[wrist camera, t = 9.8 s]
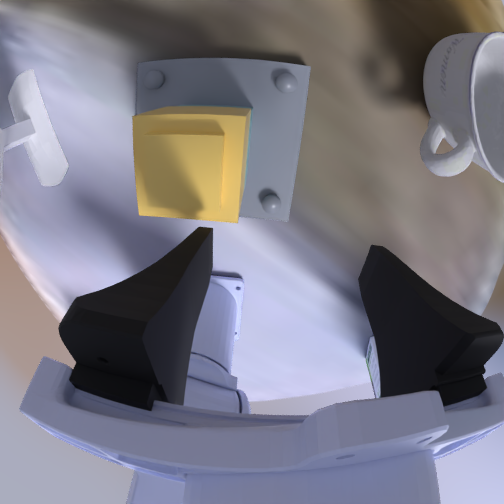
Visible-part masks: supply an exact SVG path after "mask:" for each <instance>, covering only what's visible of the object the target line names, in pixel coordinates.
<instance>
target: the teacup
mask: <svg viewBox="0 0 504 504" xmlns="http://www.w3.org/2000/svg"><path fill="white" fill-rule="evenodd" d="M423 88H424V95H425V101H426V105H427V108H428V111H429V114H430V116H431V118H430V120H429V122H428V129H427V131H426V133H425V134H424V136H423V138H422V141H421V145H420V155H421V157H422V160H423V162H424V163H425V165H426V167H427V168H428V169H429V170H430V171H431V172H432V173H434V174H436V175H439V176H453V175H456V174H458V173H460V172H462V171H464V170H465V169H466V168H467V167H468V166H469V164H470V163H471V161H473V162H475V163H476V164H478V165H479V166H481V167H483V168H484V169H486V170H487V171H489V172H490V173H491V174H492V175H493V176H494V177H495V178H496V179H497V180H499V181H501V182H503V183H504V32H491V33H461V34H455V35H451V36H448V37H446V38H443V39H442V40H440V41H439V42H438V43H437V44H436V45H435V46H434V47H433V48H432V50H431V51H430V53H429V55H428V57H427V60H426V63H425V68H424V75H423ZM443 138H444V139H445V140H446V141H447V142H448V143H449V144H450V145H451V146H452V147H453V148H454V149H453V150H452V151H450V152H447V153H445V154H435V153H436V150H437V147H438V145H439V143H440V142H441V140H442V139H443Z"/></svg>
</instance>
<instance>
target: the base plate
mask: <svg viewBox="0 0 504 504" xmlns="http://www.w3.org/2000/svg"><path fill="white" fill-rule="evenodd" d="M310 69H311V67H310V66H304V65H298V64H291V63H283V62H275V61H266V60H254V59H238V58H185V59H169V60H157V61H148V62H140V63H138V69H137V98H136V115H138V114H141V113H144V112H148V111H152V110H155V109H159V108H163V107H167V106H215V107H236V108H250V109H251V116H250V127H249V138H248V149H247V161H246V173H245V185H244V192H243V197H242V202H241V208H240V213H239V217H248V218H258V219H268V220H278V221H287V222H288V219H289V213H290V207H291V201H292V195H293V189H294V183H295V177H296V170H297V164H298V157H299V151H300V144H301V137H302V130H303V123H304V116H305V108H306V101H307V93H308V85H309V77H310Z"/></svg>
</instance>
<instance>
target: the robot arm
mask: <svg viewBox="0 0 504 504" xmlns="http://www.w3.org/2000/svg"><path fill="white" fill-rule="evenodd" d="M212 267H213V228H207V227H198V228H197V229H196V230H195V231H194V232H192V233H191V234H190V235H189V236H188V237H187V238H186V239H185V240H184V241H182V242H181V243H180V244H179V245H178V246H177V247H175V248H174V249H173V250H172V251H170V252H169V253H168V254H167V255H165V256H164V257H163V258H161V259H160V260H159V261H157V262H156V263H154V264H153V265H151V266H149V267H148V268H146V269H144V270H143V271H141V272H139V273H137V274H135V275H133V276H131V277H129V278H128V279H126V280H124V281H121V282H119V283H117V284H115V285H112V286H110V287H107V288H105V289H102V290H99V291H96V292H93V293H89V294H86V295H83V296H79V297H76V299H75V300H74V302H73V303H72V305H71V306H70V308H69V310H68V311H67V313H66V314H65V316H64V318H63V319H62V321H61V323H60V325H59V334H60V337H61V339H62V341H63V343H64V344H65V346H66V348H67V349H68V350H69V352H70V354H71V355H72V357H73V358H74V360H75V361H76V365H75V367H74V369H72V368H70V367H69V366H67V365H66V364H64V363H61V362H58V361H56V360H53V359H51V358H48V357H45V356H44V357H43V358H42V360H41V362H40V364H39V366H38V368H37V370H36V372H35V374H34V376H33V378H32V381H31V383H30V385H29V387H28V389H27V391H26V394H25V396H24V398H23V401H22V403H21V406H20V408H19V409H20V411H21V412H22V413H23V414H24V415H25V416H27V417H28V418H29V419H31V420H32V421H34V422H35V423H36V424H37V425H39V426H40V427H41V428H43V429H44V430H46V431H47V432H48V433H50V434H51V435H53V436H55V437H56V438H59V439H60V440H62V441H64V442H66V443H69V444H71V445H73V446H75V447H77V448H79V449H81V450H84V451H86V452H88V453H91V454H93V455H95V456H98V457H100V458H103V459H105V460H108V461H110V462H113V463H116V464H119V465H122V466H124V467H127V468H130V469H133V470H134V475H133V479H132V482H131V486H130V490H129V494H128V499H127V502H126V504H440V495H439V487H438V480H437V473H436V467H435V462H434V461H435V460H437V459H439V458H442V457H444V456H447V455H449V454H451V453H453V452H456V451H458V450H460V449H462V448H464V447H466V446H468V445H470V444H472V443H474V442H476V441H478V440H480V439H482V438H484V437H485V436H487V435H488V434H490V433H491V432H493V431H494V430H496V429H497V428H499V427H500V426H502V425H503V424H504V377H503V375H502V373H498V374H495V375H492V376H490V377H488V378H486V379H485V380H484V378H483V375H482V374H484V373H485V368H484V364H485V363H486V362H487V361H488V360H489V359H490V358H491V357H492V355H493V354H494V353H495V352H496V351H497V350H498V349H499V347H500V346H501V344H502V342H503V338H504V334H503V332H502V330H501V328H500V326H499V325H498V324H497V323H496V322H493V321H491V320H489V319H486V318H484V317H482V316H479V315H477V314H475V313H473V312H471V311H469V310H467V309H466V308H464V307H462V306H460V305H459V304H457V303H455V302H454V301H452V300H451V299H449V298H448V297H446V296H445V295H443V294H442V293H440V292H439V291H438V290H436V289H435V288H433V287H432V286H431V285H430V284H428V283H427V282H426V281H425V280H423V279H422V278H421V277H420V276H419V275H417V274H416V273H415V272H414V271H413V270H412V269H410V268H409V267H408V266H407V265H406V264H405V263H403V262H402V261H401V260H400V259H399V258H398V257H396V256H395V255H394V254H393V253H391V252H390V251H389V250H387V249H386V248H385V247H383V246H376V245H371V247H370V250H369V253H368V256H367V258H366V261H365V264H364V266H363V269H362V271H361V274H360V276H359V279H358V280H359V286H360V291H361V296H362V300H363V303H364V306H365V310H366V313H367V316H368V319H369V322H370V325H371V328H372V332H373V335H374V339H375V343H376V349H377V356H378V364H379V374H380V398H374V399H365V400H354V401H349V402H343V403H336V404H333V405H330V406H327V407H324V408H321V409H318V410H317V411H315V412H314V413H312V414H311V415H260V414H251V409H250V404H249V402H248V399H247V396H246V394H245V393H244V392H243V391H242V390H239V389H237V379H238V378H237V377H234V376H232V375H231V366H232V357H233V347H234V341H236V340H238V339H239V332H240V321H241V310H242V299H243V288H244V281H243V280H242V279H240V278H232V277H222V276H212V275H211V272H212ZM237 286H239V287H240V288H238V287H237Z"/></svg>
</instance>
